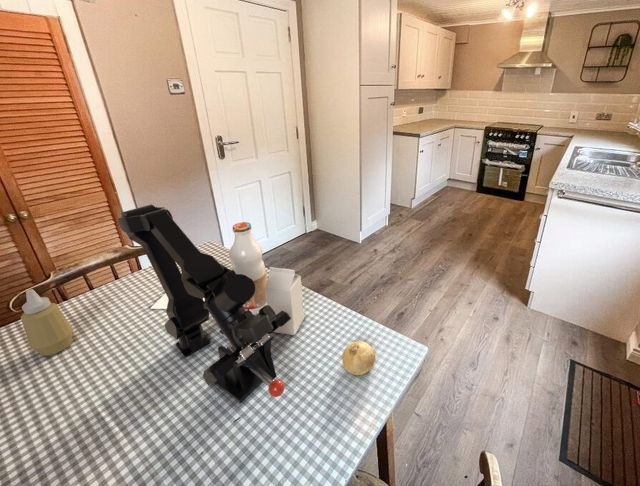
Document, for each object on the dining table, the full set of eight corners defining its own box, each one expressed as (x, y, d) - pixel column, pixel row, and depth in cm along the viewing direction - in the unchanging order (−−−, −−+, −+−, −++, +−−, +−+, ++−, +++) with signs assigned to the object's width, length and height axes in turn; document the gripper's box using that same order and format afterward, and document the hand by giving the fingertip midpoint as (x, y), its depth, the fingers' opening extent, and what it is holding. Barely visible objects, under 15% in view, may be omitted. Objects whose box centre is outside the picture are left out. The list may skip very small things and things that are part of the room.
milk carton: (294, 336, 84) (288, 277, 77) (271, 332, 85) (263, 274, 78) (304, 318, 90) (299, 263, 83) (282, 315, 92) (276, 260, 85)
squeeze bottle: (83, 341, 81) (59, 285, 75) (44, 364, 75) (13, 305, 68) (68, 332, 85) (43, 277, 78) (28, 353, 78) (-3, 295, 71)
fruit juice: (271, 311, 93) (260, 229, 83) (239, 319, 90) (223, 234, 79) (268, 293, 101) (257, 216, 91) (237, 300, 98) (223, 221, 87)
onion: (354, 348, 80) (353, 327, 77) (380, 361, 76) (381, 340, 73) (336, 371, 73) (335, 349, 71) (364, 386, 70) (364, 363, 67)
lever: (286, 391, 65) (288, 382, 63) (275, 403, 62) (277, 395, 60) (236, 346, 70) (237, 337, 69) (224, 356, 68) (224, 347, 66)
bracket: (268, 376, 72) (263, 341, 68) (240, 404, 65) (232, 367, 61) (241, 358, 77) (234, 324, 73) (212, 382, 70) (203, 347, 66)
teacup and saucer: (212, 293, 101) (210, 283, 99) (188, 293, 101) (186, 283, 99) (224, 278, 109) (222, 268, 108) (202, 278, 109) (200, 268, 108)
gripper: (199, 334, 51) (252, 411, 50) (281, 279, 66) (323, 338, 65) (183, 350, 58) (229, 419, 57) (260, 297, 73) (298, 351, 72)
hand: (274, 378), depth 62 cm, fingers closed
